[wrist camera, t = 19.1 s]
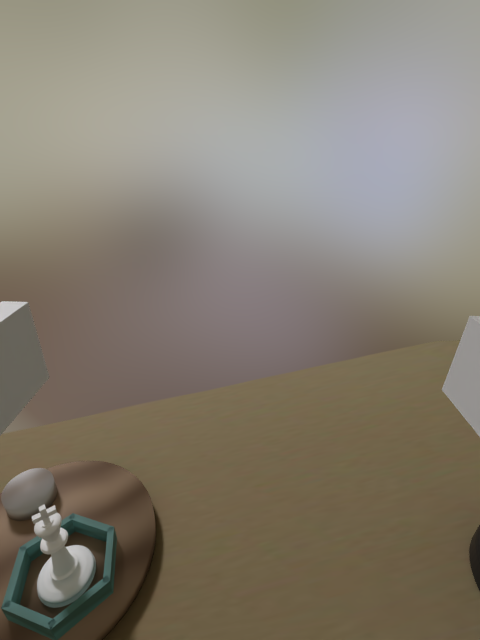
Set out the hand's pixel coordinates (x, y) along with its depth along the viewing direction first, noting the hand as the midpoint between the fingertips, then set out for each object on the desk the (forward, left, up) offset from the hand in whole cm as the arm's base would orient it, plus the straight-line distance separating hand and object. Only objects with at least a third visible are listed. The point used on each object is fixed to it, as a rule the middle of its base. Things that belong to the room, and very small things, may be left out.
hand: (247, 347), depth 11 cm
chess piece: (+17, +5, -31) cm, 35 cm away
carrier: (+21, +5, -32) cm, 38 cm away
